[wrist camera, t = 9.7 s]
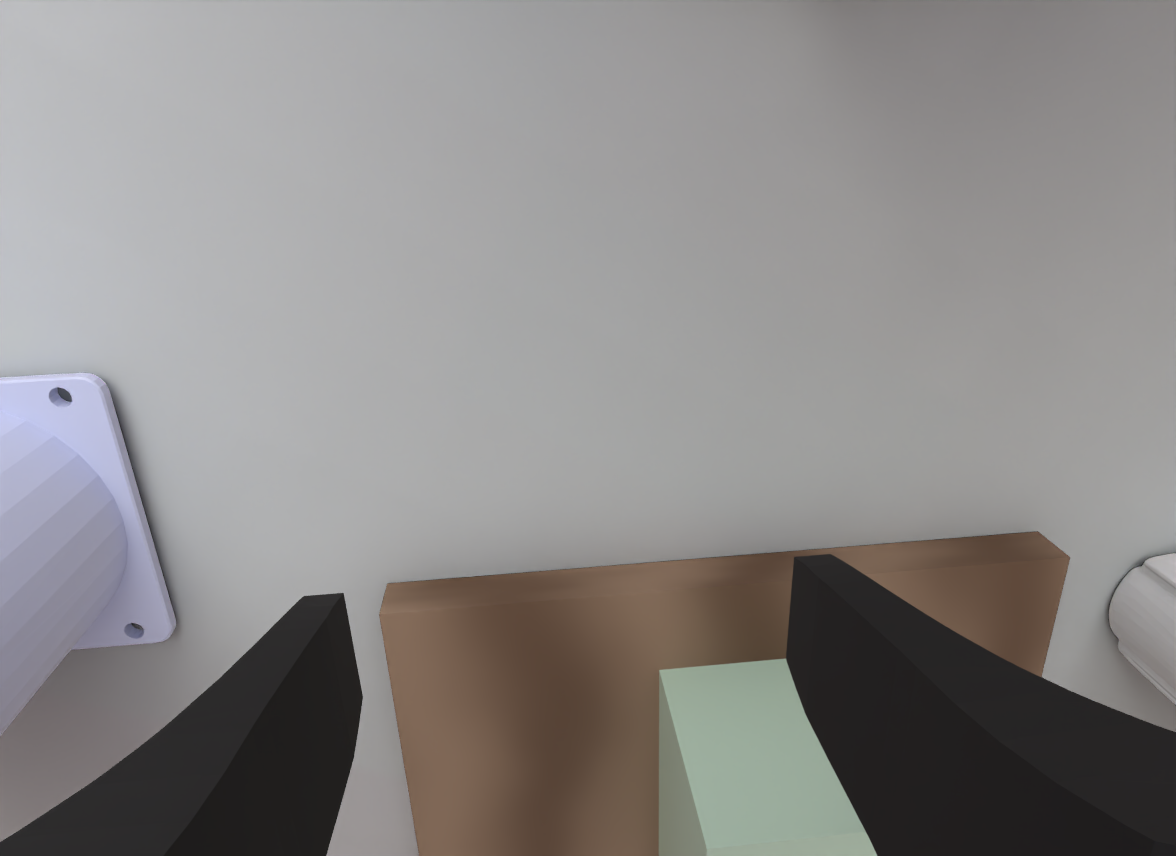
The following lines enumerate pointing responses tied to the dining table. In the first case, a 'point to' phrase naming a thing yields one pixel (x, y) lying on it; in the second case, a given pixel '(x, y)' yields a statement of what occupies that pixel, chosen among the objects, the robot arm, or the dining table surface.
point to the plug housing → (747, 768)
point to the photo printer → (1148, 621)
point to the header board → (633, 675)
